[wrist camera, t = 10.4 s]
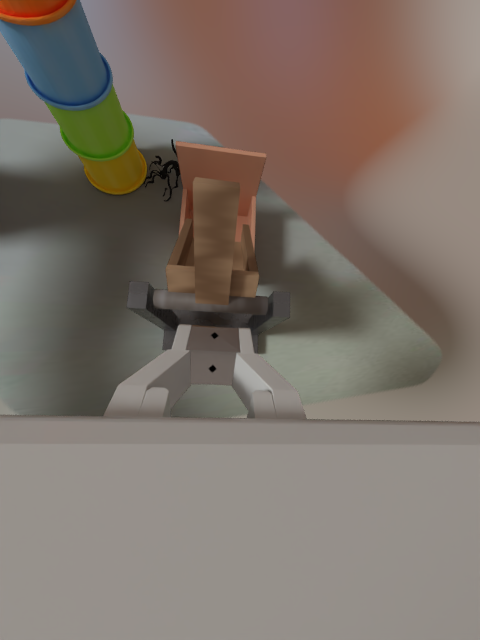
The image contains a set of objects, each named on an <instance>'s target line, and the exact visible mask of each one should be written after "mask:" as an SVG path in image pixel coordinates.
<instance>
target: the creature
mask: <svg viewBox="0 0 480 640" xmlns="http://www.w3.org/2000/svg"><path fill="white" fill-rule="evenodd" d="M171 143H172V149H173V151H174V153H175V154H176V156H177V152H176V150H175V148H174V145H173V139H172V140H171ZM155 157H156V158H159V160H160V161H159V162H158V161H154V162H155V163H154V162H152V161H151V162H152V163H154V164H155V165H156V164H157V163H158V165H160V166H161V161H162V160H161V158H160V156H155ZM177 159H178V156H177ZM152 163H151V164H152ZM172 164H173V166H172V168H170V172H168V173H171V169H175V171H176V176H177V180H176V187H178V184H177V181H178V177H179V175H180V174H181V173H180V168H179V163H178V162H177V161H173V160H170V161H168V162H167V163H165V164H164V165H162V166H164V168H163V170H162V171H160V172H158V171H157V172H158V173H159V174H160V175H158V174H157V173H155V172H153V171H156V170H152V171H151V173H150V176H148V177H146V178H145V180H146V179H150V178H152V181H149V182H147V184H148V183H154V177H155V176H156V175H158V176H160V178H161V179H163V180H164V179H166V177H168V186H169V188H170V197H169V199H170V198H171V195H172V189H171V186H170V184H169V175H168V174H167V169H168V167H169V166H170V165H172ZM150 166H151V165H150ZM156 166H157V165H156ZM177 167H178V168H177ZM149 169H150V168H149ZM159 170H160V169H159ZM152 173H155V174H156V175H154V176H153V177H152ZM161 175H162V177H161ZM145 180H144V184H145ZM147 184H146V186H147ZM146 186H145V188H146ZM176 187H173V188H176ZM166 189H167V188H165V191H166ZM168 190H169V189H168ZM164 195H165V193H164ZM164 195H163V196H164ZM169 199H168V200H169ZM168 200H166V201H168Z"/></svg>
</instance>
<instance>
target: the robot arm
mask: <svg viewBox="0 0 480 640" xmlns="http://www.w3.org/2000/svg"><path fill="white" fill-rule="evenodd" d="M191 384H215V385H232V387H233V389H234V390H235V392H236V393H237V395H238V396H239V398H240V399H241V401H242V402H243V404H244V405H245V407H246V408H247V410H248V415H247V418H190V417H171V410H170V409H171V408H172V407H173V406H174V404H175V403H176V402H177V401H178V400H179V399H180V397H181V396H182V395H183V394H184V393H185V391H186V390H187V389H188V388H189V387H190V386H191ZM0 640H480V422H454V421H390V420H386V421H385V420H324V419H321V420H320V419H306V415H305V412H304V409H303V406H302V403H301V400H300V397H299V394H298V391H297V390H296V389H295V388H294V387H293V386H292V385H291V384H290V383H289V382H288V381H287V380H285V379H284V378H283V377H282V376H281V375H280V374H279V373H278V372H277V371H276V370H275V369H274V368H273V367H272V366H270V365H269V364H268V363H267V362H266V361H265V360H264V359H263V358H262V357H261V356H260V355H259V354H255V353H254V348H253V342H252V335H251V329H250V328H225V327H212V326H200V325H186V324H179V326H178V328H177V332H176V335H175V339H174V342H173V346H172V349H171V350H169V349H168V350H166V351H165V352H163V353H162V354H161V355H159V356H158V357H157V358H155V359H154V360H152V361H151V362H150V363H148V364H147V365H145V366H144V367H143V368H141V369H140V370H138V371H137V372H136V373H134V374H133V375H132V376H130V377H129V378H127V379H126V380H125V381H123V382H122V383H120V384H119V385H118V386H117V388H116V390H115V393H114V395H113V397H112V399H111V401H110V403H109V405H108V407H107V409H106V411H105V413H104V415H103V416H55V415H0Z"/></svg>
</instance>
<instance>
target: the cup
mask: <svg viewBox="0 0 480 640" xmlns="http://www.w3.org/2000/svg"><path fill="white" fill-rule="evenodd" d="M176 151H177V156H178V162H179V168H180V173H181V179H182V185H183V195H182V206H181V217H180V227H179V235H180V232H181V230H182V227H183V225H184V222H185V220H186V218H189V219H193V238H194V217H193V181H194V179H195V177H199V178H207V179H215V180H224V181H232V182H239V184H240V196H239V205H238V215H237V225H236V235H235V242H241V235H242V226H243V224H247V225H249V228H250V233H251V238H252V243H253V248H254V250H255V214H256V195H257V191H258V187H259V183H260V179H261V176H262V172H263V168H264V164H265V160H266V154H265V153H258V152H251V151H244V150H236V149H229V148H222V147H215V146H208V145H201V144H193V143H186V142H179V141H176Z"/></svg>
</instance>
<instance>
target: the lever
mask: <svg viewBox="0 0 480 640" xmlns="http://www.w3.org/2000/svg"><path fill="white" fill-rule="evenodd" d="M239 196H240V184H239V182H232V181H224V180H215V179H207V178H199V177H195V179H194V181H193V217H194V238H193V219H189V218H186V220H185V222H184V225H183V227H182V230H181V232H180V235H179V237H178V240H177V242H176V245H175V247H174V250H173V252H172V254H171V257H170V259H169V262H168V264H167V267H166V277H167V286H168V290H163V289H155V291H154V295H153V305H154V308H156V309H172V310H189V311H206V312H222V313H239V314H255V315H266V313H267V309H268V298H267V297H264V296H256V291H257V286H258V280H259V273H258V268H257V263H256V258H255V253H254V248H253V243H252V238H251V233H250V228H249V225H247V224H243V226H242V235H241V242H235V235H236V225H237V215H238V205H239Z"/></svg>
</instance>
